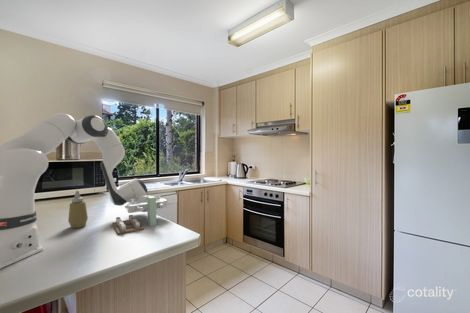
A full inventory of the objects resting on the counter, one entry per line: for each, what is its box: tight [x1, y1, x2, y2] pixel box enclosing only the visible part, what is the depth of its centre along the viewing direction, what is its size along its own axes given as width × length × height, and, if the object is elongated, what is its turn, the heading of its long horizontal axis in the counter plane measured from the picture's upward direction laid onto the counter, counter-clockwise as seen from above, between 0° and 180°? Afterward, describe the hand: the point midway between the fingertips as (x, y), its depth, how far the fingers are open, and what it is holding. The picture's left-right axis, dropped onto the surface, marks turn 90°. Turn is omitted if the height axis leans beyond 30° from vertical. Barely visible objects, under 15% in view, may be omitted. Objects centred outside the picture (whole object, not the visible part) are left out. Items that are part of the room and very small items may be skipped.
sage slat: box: [146, 195, 158, 227], centre depth 112 cm, size 5×3×14 cm, turn 36°
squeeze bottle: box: [67, 190, 89, 229], centre depth 111 cm, size 8×8×18 cm
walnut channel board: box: [111, 214, 145, 236], centre depth 108 cm, size 18×11×4 cm, turn 36°
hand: (151, 208), depth 111 cm, fingers open, 8 cm apart
